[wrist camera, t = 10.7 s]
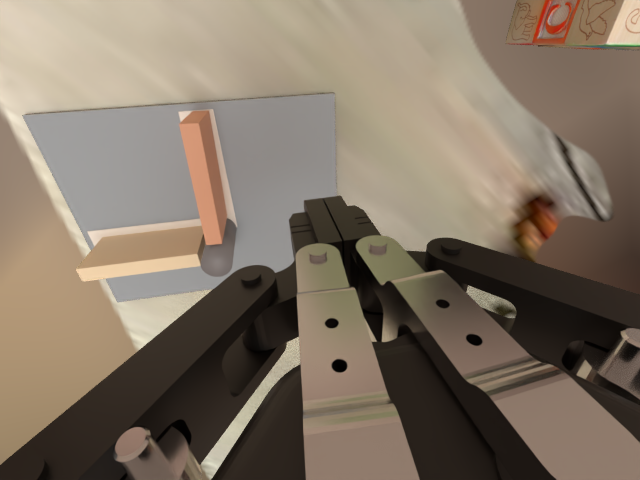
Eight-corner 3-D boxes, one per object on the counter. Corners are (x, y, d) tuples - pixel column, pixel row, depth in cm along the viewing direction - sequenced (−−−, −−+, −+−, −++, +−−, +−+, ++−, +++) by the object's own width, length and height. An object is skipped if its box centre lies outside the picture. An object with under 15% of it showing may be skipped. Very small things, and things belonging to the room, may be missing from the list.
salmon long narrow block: (227, 215, 29) (222, 243, 25) (213, 216, 29) (206, 245, 24) (209, 110, 24) (198, 123, 20) (192, 110, 24) (178, 123, 20)
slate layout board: (337, 268, 35) (351, 308, 30) (119, 299, 32) (90, 349, 27) (333, 92, 26) (353, 103, 20) (26, 114, 23) (-46, 134, 18)
